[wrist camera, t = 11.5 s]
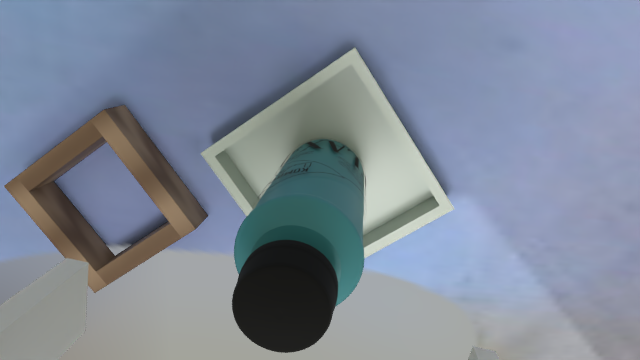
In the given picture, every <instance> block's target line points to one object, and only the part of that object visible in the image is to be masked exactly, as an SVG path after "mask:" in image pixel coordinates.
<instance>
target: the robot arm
mask: <svg viewBox="0 0 640 360" xmlns="http://www.w3.org/2000/svg"><path fill="white" fill-rule="evenodd" d="M88 265H89V263H88V262H83V261H79V260H74V259H70V258H65V259H64V260H63V261H62V262H60V263H59V264H57V265H56V266H54V267H53V268H52V269H50V270H49V271H47V272H46V273H45V274H43V275H42V276H40V277H39V278H38V279H36V280H35V281H33V282H32V283H31V284H29V285H28V286H26V287H25V288H24V289H22V290H21V291H19V292H18V293H17V294H15V295H14V296H13V297H11V298H10V299H8V300H7V301H6V302H4V303H3V304H1V305H0V360H58V359H59V358H60V357H61V356H62V355H63V354H64V353H65V352H66V351H67V350H68V349H69V348H70V347H71V346H72V345H73V344H74V343H75V342H76V340H78V338H79V337H80V336H81V335H82V334H83V333H84V332H85V331H86V308H87V287H88ZM468 360H500V359H499V357H498V355H497V353H496V351H492V350H488V349H483V348H478V347H473V348H472V351H471V353H470V356H469V359H468Z"/></svg>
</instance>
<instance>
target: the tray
mask: <svg viewBox="0 0 640 360" xmlns="http://www.w3.org/2000/svg"><path fill="white" fill-rule="evenodd" d="M314 138H315V139H314ZM331 138H332V139H331ZM310 139H311V141H313V140H316V139H317V140H318V139H328V140H334V141H335V139H336V141H337V142H340V143H342V144H344V145H346V144H347V145H346V146H348V148H350V149H351V150H353V152H354V153H355V154H356V156H357V157H358V159H359V158H360V159H359V160H362V161H360V162H361V165H362V168H363V172H364V176H366V192H365V191H364V212H365V213H364V216H363V247H364V258H366V257H368V256H370V255H372V254H373V253H375V252H377V251H379V250H381V249H383V248H384V247H386V246H388V245H390V244H392V243H393V242H395V241H397V240H399V239H401V238H403V237H404V236H406V235H408V234H410V233H412V232H413V231H415V230H417V229H419V228H421V227H422V226H424V225H426V224H428V223H430V222H432V221H433V220H435V219H437V218H439V217H441V216H442V215H444V214H446V213H448V212H450V211H452V210H453V209H454V207H453V206H452V204H451V202H450V201H449V199H448V198H447V196H446V194H445V193H444V191H443V189H442V188H441V186H440V185H439V183H438V181H437V180H436V178H435V176H434V175H433V173H432V172H431V170H430V168H429V167H428V165H427V163H426V162H425V160H424V159H423V157H422V155H421V154H420V152H419V150H418V149H417V147H416V146H415V144H414V142H413V141H412V139H411V137H410V136H409V134H408V133H407V131H406V129H405V128H404V126H403V124H402V123H401V121H400V120H399V118H398V116H397V115H396V113H395V111H394V110H393V108H392V107H391V105H390V103H389V102H388V100H387V98H386V97H385V95H384V94H383V92H382V90H381V89H380V87H379V86H378V84H377V82H376V81H375V79H374V77H373V76H372V74H371V73H370V71H369V69H368V68H367V66H366V64H365V63H364V61H363V60H362V58H361V56H360V55H359V53H358V51H357V50H356V48H353V49H352V50H350V51H349V52H348V53H346V54H345V55H343V56H342V57H340V58H339V59H337V60H336V61H334V62H333V63H331V64H330V65H329V66H327V67H326V68H324V69H323V70H321V71H320V72H318V73H317V74H315V75H314V76H312V77H311V78H310V79H308V80H307V81H305V82H304V83H302V84H301V85H299V86H298V87H296V88H295V89H293V90H292V91H291V92H289V93H288V94H286V95H285V96H283V97H282V98H280V99H279V100H277V101H276V102H275V103H273V104H272V105H270V106H269V107H267V108H266V109H264V110H263V111H261V112H260V113H258V114H257V115H256V116H254V117H253V118H251V119H250V120H248V121H247V122H245V123H244V124H242V125H241V126H239V127H238V128H237V129H235V130H234V131H232V132H231V133H229V134H228V135H226V136H225V137H223V138H222V139H220V140H219V141H218V142H216V143H215V144H213V145H212V146H210V147H209V148H207V149H206V150H204V151H203V152H202V153H201V155H202V156H203V158H204V159H205V160H206V162H207V163H208V164H209V166H210V167H211V168H212V170H213V171H214V173H215V174H216V175H217V177H218V178H219V179H220V181H221V182H222V183H223V185H224V186H225V188H226V189H227V190H228V192H229V193H230V194H231V196H232V197H233V199H234V200H235V201H236V203H237V204H238V205H239V207H240V208H241V209H242V211H243V212H244V214H245V215H246V216H248V215H249V213H250V212H251V211H252V210H253V209H254V208H255V207H256V205H257V204H258V202H259V200H260V198H261V197H262V196H263V194H264V193H265V191H266V189H268V187H269V186H270V184H271V183H270V182H273V180H274V179H275V177H276V176H275V175H274V174H276V175H277V173H279V172H280V170H281V169H282V168H281V167H280V166H281V165H282V163H283V162H284V161H285V162H287V160H288V159H289V157H290V156H291V155H292V153H293V151H295V150H296V149H297V148H298V147H300V146H301V145H303V144H305V143H307V142H309V141H310ZM307 140H308V141H307ZM338 140H339V141H338ZM302 143H303V144H302ZM299 144H300V145H299ZM349 146H350V147H349ZM289 154H290V155H289ZM288 155H289V156H288ZM287 156H288V158H287ZM286 158H287V159H286ZM285 159H286V160H285ZM362 162H363V163H362ZM283 166H284V163H283ZM363 166H364V167H363ZM276 171H277V173H276ZM365 172H366V173H365ZM269 183H270V184H269ZM266 185H267V187H266ZM265 187H266V188H265ZM364 187H365V177H364ZM264 188H265V189H264ZM263 189H264V190H263ZM364 190H365V188H364ZM262 191H263V194H262ZM260 194H261V195H262V196H261V195H260ZM259 195H260V197H258V196H259ZM365 195H366V196H365ZM366 208H367V210H366Z"/></svg>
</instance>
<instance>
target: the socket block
mask: <svg viewBox="0 0 640 360" xmlns="http://www.w3.org/2000/svg"><path fill="white" fill-rule="evenodd" d="M106 142H108V144H109V145H110V146H111V148H112V149H113V150H114V152H115V153H116V154H117V155H118V157H119V158H120V159H121V161H122V162H123V163H124V164H125V166H126V167H127V168H128V170H129V171H130V172H131V173H132V175H133V176H134V177H135V179H136V180H137V181H138V182H139V184H140V185H141V186H142V188H143V189H144V190H145V191H146V193H147V194H148V195H149V197H150V198H151V199H152V200H153V202H154V203H155V204H156V206H157V207H158V208H159V209H160V211H161V212H162V213H163V215H164V216H165V217H166V219H167V220H168V222H166V223H165V224H163V225H162V226H160V227H159V228H157V229H156V230H154V231H153V232H151V233H150V234H148V235H147V236H145V237H143V238H142V239H140V240H139V241H137V242H136V243H134V244H133V245H131V246H130V247H128V248H127V249H125V250H124V251H122V252H120V253H119V254H117V255H116V256H115V255H114V254H113V253H112V252H111V251H110V249H109V248H108V247H107V246H106V245H105V243H104V242H103V241H102V240H101V238H100V237H99V236H98V235H97V234H96V232H95V231H94V230H93V229H92V227H91V226H90V225H89V224H88V223H87V221H86V220H85V219H84V218H83V216H82V215H81V214H80V213H79V212H78V210H77V209H76V208H75V207H74V206H73V204H72V203H71V202H70V201H69V199H68V198H67V197H66V196H65V195H64V193H63V192H62V191H61V190H60V188H59V187H58V186H57V185H56V184H55V182H54V181H55V180H56V179H57V178H59V177H60V176H62V175H63V174H64V173H66V172H67V171H68V170H70V169H71V168H72V167H74V166H75V165H76V164H78V163H79V162H80V161H82V160H83V159H84V158H86V157H87V156H89V155H90V154H91V153H93V152H94V151H95V150H97V149H98V148H99V147H101V146H102V145H103V144H105V143H106ZM4 187H5V188H6V189H7V190H8V191H9V193H10V194H11V195H12V196H13V197H14V198H15V200H16V201H17V202H18V203H19V204H20V206H21V207H22V208H23V209H24V210H25V211H26V213H27V214H28V215H29V216H30V217H31V219H32V220H33V221H34V222H35V223H36V224H37V226H38V227H39V228H40V229H41V230H42V231H43V233H44V234H45V235H46V236H47V237H48V239H49V240H50V241H51V242H52V243H53V244H54V246H55V247H56V248H57V249H58V250H59V251H60V253H61V254H62V255H63V256H64V257H65V258H70V259H74V260H79V261H83V262H88V263H89V265H88V286H89V287H90V288H91V289H92V290H93V291H94V293H96V292H97V291H99V290H100V289H102V288H104V287H105V286H107V285H108V284H110V283H111V282H113V281H114V280H116V279H118V278H119V277H121V276H122V275H124V274H126V273H127V272H129V271H130V270H132V269H133V268H135V267H137V266H138V265H140V264H141V263H143V262H145V261H146V260H148V259H149V258H151V257H152V256H154V255H155V254H157V253H159V252H160V251H162V250H163V249H165V248H167V247H168V246H170V245H171V244H173V243H174V242H176V241H178V240H179V239H181V238H182V237H184V236H185V235H187V234H189V233H190V232H192V231H193V230H195V229H196V228H197V227H198V226H199V225H200V224H201V223H202V222H203V221H204V220H205V219H206V217H207V216H208V215H207V214H206V212H205V211H204V210H203V208H202V207H201V206H200V204H199V203H198V202H197V200H196V199H195V198H194V196H193V195H192V194H191V192H190V191H189V190H188V188H187V187H186V186H185V184H184V183H183V182H182V180H181V179H180V178H179V176H178V175H177V174H176V172H175V171H174V170H173V168H172V167H171V166H170V164H169V163H168V162H167V160H166V159H165V158H164V157H163V155H162V154H161V153H160V151H159V150H158V149H157V147H156V146H155V145H154V143H153V142H152V141H151V139H150V138H149V137H148V135H147V134H146V133H145V131H144V130H143V129H142V127H141V126H140V125H139V123H138V122H137V121H136V119H135V118H134V117H133V115H132V114H131V113H130V111H129V110H128V109H127V107H126V106H125V105H122V106H118V107H113V108H108V109H104V110H103V111H101V112H100V113H99V114H97V115H96V116H95V117H94V118H92V119H91V120H90V121H88V122H87V123H86V124H84V125H83V126H82V127H81V128H79V129H78V130H77V131H75V132H74V133H73V134H71V135H70V136H69V137H67V138H66V139H65V140H64V141H62V142H61V143H60V144H58V145H57V146H56V147H54V148H53V149H52V150H50V151H49V152H48V153H47V154H45V155H44V156H43V157H41V158H40V159H39V160H37V161H36V162H35V163H34V164H32V165H31V166H30V167H28V168H27V169H26V170H24V171H23V172H22V173H20V174H19V175H18V176H17V177H15V178H14V179H13V180H11V181H10V182H9V183H7V184H6V185H5V186H4Z"/></svg>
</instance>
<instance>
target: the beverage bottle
mask: <svg viewBox="0 0 640 360" xmlns="http://www.w3.org/2000/svg"><path fill="white" fill-rule="evenodd" d="M314 139H315V138H314ZM331 139H332V138H331ZM307 141H308V140H307ZM338 141H339V140H338ZM302 144H303V143H302ZM299 145H300V144H299ZM346 145H347V144H346ZM346 145H344V144H342V143H340V142H337V141H336V139H335V141H334V140H328V139H318V140H317V139H316V140H313V141H311V139H310V141H309V142H307V143H305V144H303V145H301V146H300V147H298V148H297V149H296V150H295V151H293V153H292V155H291V156H290V157H289V159H288V160H287V162H285V161H284V162H283V163H284V166H283V163H282V165H281V166H280V167H281V168H282V169H281V170H280V172H279V173H277V171H276V173H277V175H276V174H274V175H275V176H276V177H275V179H274V180H273V182H270V183H271V184H270V183H269V184H270V186H269V187H268V189H266V191H265V193H264V194H263V191H262V194H263V196H262V195H261V194H260V195H261V196H262V197H261V198H260V200H259V202H258V204H257V205H256V207H255V208H254V209H253V210H252V211H251V212H250V213H249V215H248V216H247V217H246V218H245V220H244V221H243V223H242V224H241V226H240V228H239V230H238V233H237V236H236V239H235V246H234V258H235V264H236V268H237V271H238V273H239V278H238V282H237V284H236V287H235V290H234V294H233V299H232V309H233V314H234V318H235V320H236V323H237V324H238V326H239V328H240V329H241V331H242V332H243V333H244V334H245V335H246V336H247V337H248V338H249V339H250V340H251V341H252V342H254V343H255V344H257V345H259V346H261V347H263V348H266V349H268V350H271V351H276V352H285V353H288V352H296V351H300V350H303V349H305V348H308V347H310V346H311V345H313V344H315V343H316V342H317V341H318V340H319V339H320V338H321V337H322V336H323V335H324V333H325V332H326V330H327V329H328V327H329V325H330V322H331V319H332V314H333V311H334V308H335V306H337V305H338V304H340V303H341V302H342V301H344V300H345V299H346V298H347V297H348V296H349V295H350V294H351V293H352V292H353V290H354V289H355V287H356V286H357V284H358V282H359V280H360V277H361V275H362V271H363V267H364V247H363V216H364V213H365V212H364V191H365V192H366V176H364V172H363V168H362V165H361V162H360V161H362V160H359V159H360V158H359V159H358V157H357V156H356V154H355V153H354V152H353V150H351V149H350V148H348V146H346ZM349 147H350V146H349ZM289 155H290V154H289ZM289 155H288V156H289ZM288 156H287V158H288ZM287 158H286V159H287ZM286 159H285V160H286ZM362 163H363V162H362ZM363 167H364V166H363ZM365 173H366V172H365ZM364 177H365V187H364ZM266 187H267V185H266ZM266 187H265V188H266ZM265 188H264V189H265ZM364 188H365V190H364ZM264 189H263V190H264ZM260 195H259V196H258V197H260ZM365 196H366V195H365ZM366 210H367V208H366Z"/></svg>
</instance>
